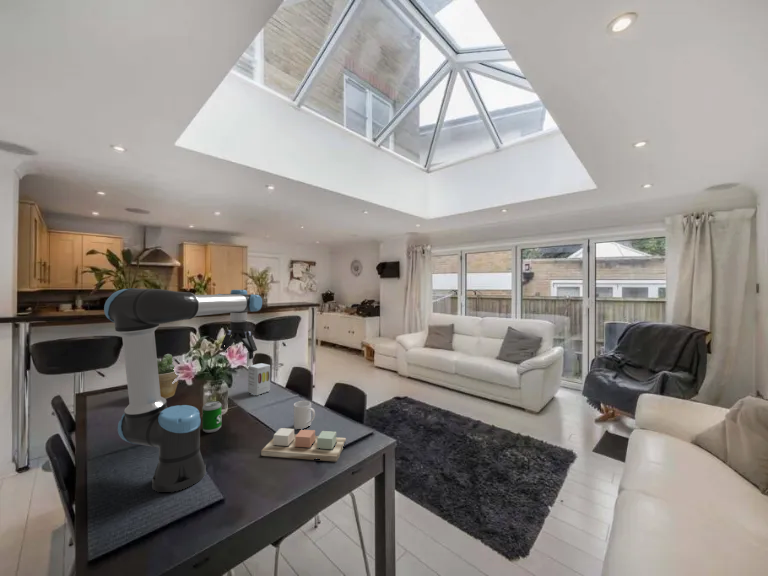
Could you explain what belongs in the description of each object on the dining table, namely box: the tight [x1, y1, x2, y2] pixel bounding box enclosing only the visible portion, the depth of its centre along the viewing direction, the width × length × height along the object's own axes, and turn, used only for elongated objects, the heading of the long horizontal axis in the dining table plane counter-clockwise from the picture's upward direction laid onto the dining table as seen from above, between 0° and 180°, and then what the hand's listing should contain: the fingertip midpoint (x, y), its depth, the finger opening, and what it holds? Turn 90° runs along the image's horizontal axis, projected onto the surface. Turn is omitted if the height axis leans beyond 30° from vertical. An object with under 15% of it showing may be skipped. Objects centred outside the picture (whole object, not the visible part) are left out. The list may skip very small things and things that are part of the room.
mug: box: [293, 400, 316, 430], centre depth 143 cm, size 12×8×10 cm, turn 53°
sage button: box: [317, 430, 337, 450], centre depth 123 cm, size 6×6×4 cm
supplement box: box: [247, 362, 271, 395], centre depth 188 cm, size 10×9×17 cm
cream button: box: [273, 427, 295, 447], centre depth 125 cm, size 6×6×4 cm
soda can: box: [202, 400, 223, 434], centre depth 140 cm, size 8×8×12 cm
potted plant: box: [157, 353, 179, 400], centre depth 180 cm, size 18×19×25 cm
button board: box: [260, 433, 347, 462], centre depth 124 cm, size 14×30×2 cm, turn 83°
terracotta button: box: [295, 429, 316, 449], centre depth 124 cm, size 6×6×4 cm
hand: (238, 364), depth 151 cm, fingers open, 13 cm apart
